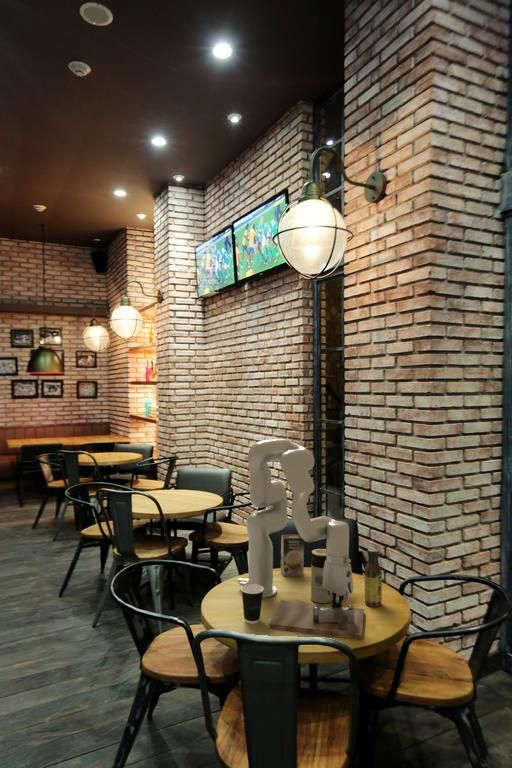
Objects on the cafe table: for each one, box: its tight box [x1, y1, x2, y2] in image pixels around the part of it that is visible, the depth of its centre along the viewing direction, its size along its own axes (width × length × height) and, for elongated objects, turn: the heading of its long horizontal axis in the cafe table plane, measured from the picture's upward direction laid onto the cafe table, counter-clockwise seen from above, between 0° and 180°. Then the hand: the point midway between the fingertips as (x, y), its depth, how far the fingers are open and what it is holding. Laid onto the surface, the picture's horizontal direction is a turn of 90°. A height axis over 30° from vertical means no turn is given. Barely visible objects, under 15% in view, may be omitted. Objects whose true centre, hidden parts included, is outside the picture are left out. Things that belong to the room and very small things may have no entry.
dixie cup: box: [240, 584, 264, 625], centre depth 174 cm, size 8×8×11 cm
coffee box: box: [280, 534, 305, 577], centre depth 220 cm, size 9×6×16 cm
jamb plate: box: [268, 599, 365, 640], centre depth 174 cm, size 30×20×6 cm, turn 76°
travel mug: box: [310, 548, 332, 604], centre depth 192 cm, size 8×8×18 cm
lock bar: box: [313, 604, 355, 623], centre depth 170 cm, size 14×2×5 cm, turn 92°
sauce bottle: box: [364, 548, 383, 608], centre depth 188 cm, size 7×6×20 cm
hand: (336, 612), depth 173 cm, fingers closed
